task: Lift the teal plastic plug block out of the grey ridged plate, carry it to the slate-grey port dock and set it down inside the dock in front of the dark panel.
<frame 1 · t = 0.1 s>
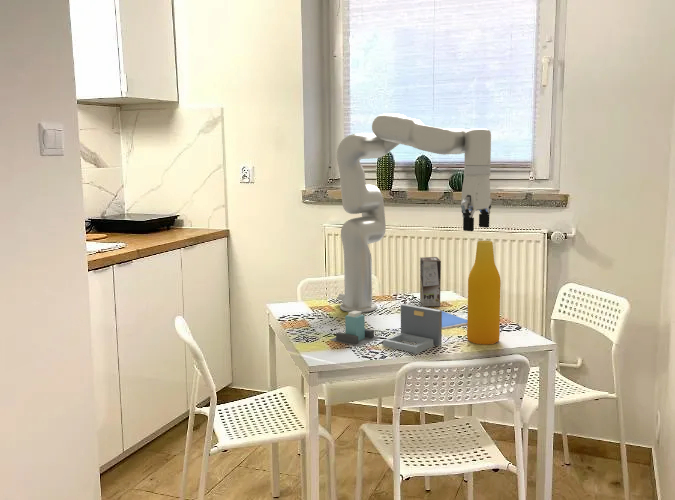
hand: (476, 229, 203), 31 cm above the table, tool pointing down, fingers open, 9 cm apart
grey ridged plate: (355, 339, 200), on the table
port dock: (408, 346, 193), on the table
coffee box: (430, 303, 243), on the table
plug: (355, 338, 200), resting on grey ridged plate
beer bottle: (483, 340, 198), on the table
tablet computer: (439, 321, 221), on the table
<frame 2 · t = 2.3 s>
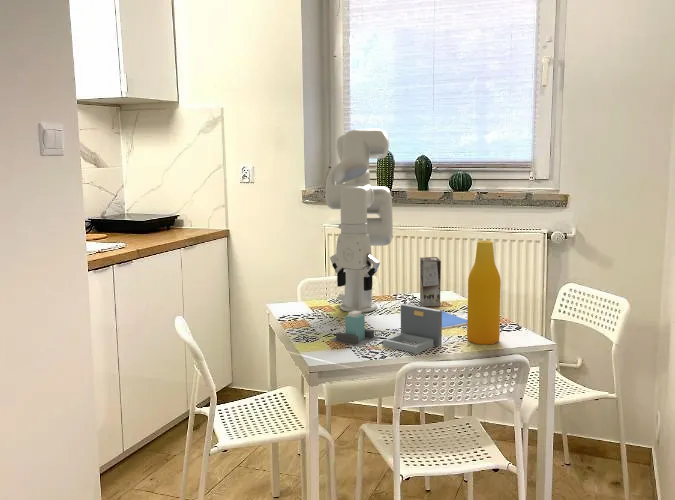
hand: (354, 287, 197), 16 cm above the table, tool pointing down, fingers open, 9 cm apart
nothing on the table moved.
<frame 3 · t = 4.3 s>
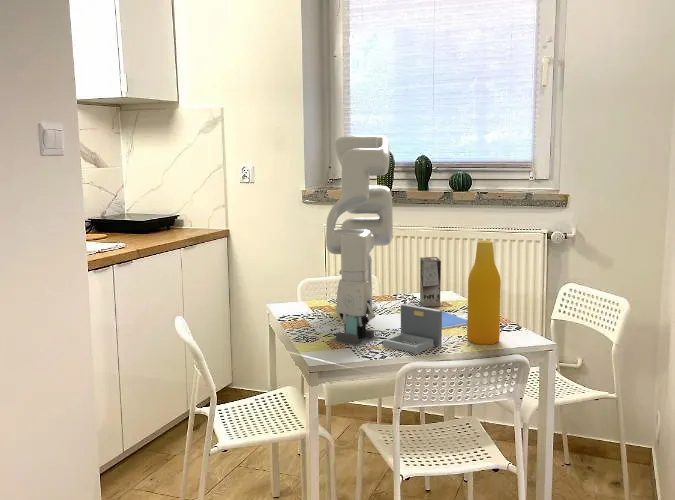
hand: (355, 336, 200), 1 cm above the table, tool pointing down, fingers closed on plug, 4 cm apart
plug: (355, 338, 200), resting on grey ridged plate, touching gripper
everything else where it was.
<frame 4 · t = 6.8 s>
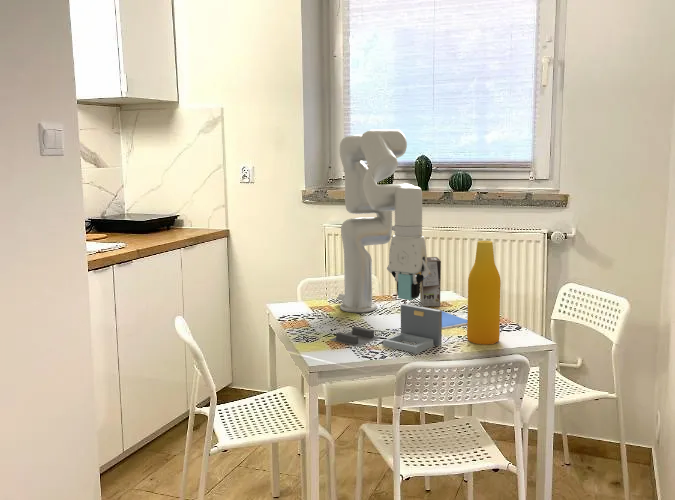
hand: (408, 295, 191), 15 cm above the table, tool pointing down, fingers closed on plug, 4 cm apart
plug: (408, 297, 191), point 14 cm above the table, touching gripper
everything else where it was.
when the fingers open (3 cm above the table, at t = 9.2 s): plug drops 2 cm, resting in port dock.
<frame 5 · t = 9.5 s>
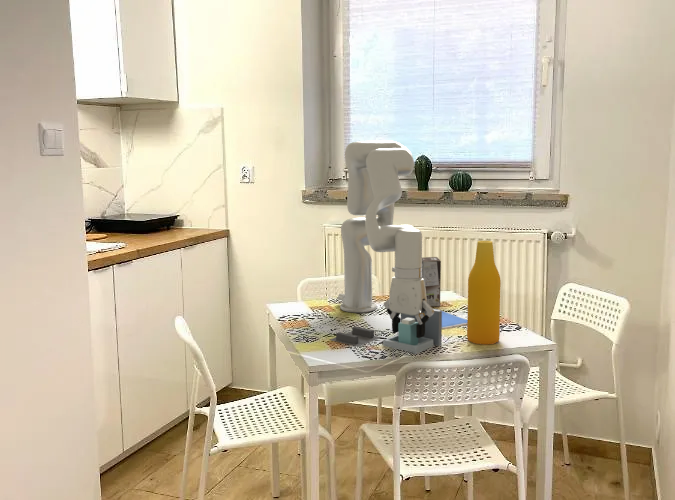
hand: (408, 334, 193), 4 cm above the table, tool pointing down, fingers open, 7 cm apart
plug: (408, 346, 193), resting in port dock
everything else where it was.
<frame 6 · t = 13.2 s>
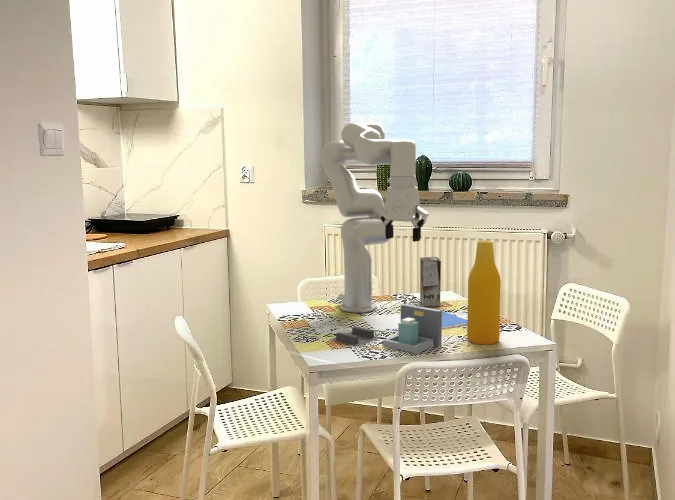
hand: (402, 239, 204), 28 cm above the table, tool pointing down, fingers open, 9 cm apart
nothing on the table moved.
at the end: plug 0.0 cm off-centre on the port dock, point 0.0 cm above the port dock's base; plug tilted 0°; the gripper is holding nothing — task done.
